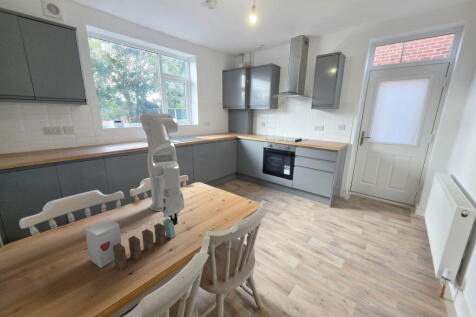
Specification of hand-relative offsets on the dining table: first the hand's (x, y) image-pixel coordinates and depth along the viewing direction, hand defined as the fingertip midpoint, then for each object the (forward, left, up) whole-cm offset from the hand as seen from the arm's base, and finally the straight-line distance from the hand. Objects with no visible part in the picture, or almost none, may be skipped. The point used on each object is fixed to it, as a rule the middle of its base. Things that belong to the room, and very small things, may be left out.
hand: (174, 223), depth 97 cm
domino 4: (+8, 0, -6) cm, 10 cm away
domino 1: (+26, 0, -6) cm, 27 cm away
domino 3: (+14, 0, -6) cm, 15 cm away
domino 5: (+2, 0, -6) cm, 6 cm away
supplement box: (+27, -10, -6) cm, 30 cm away
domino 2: (+20, 0, -6) cm, 21 cm away
